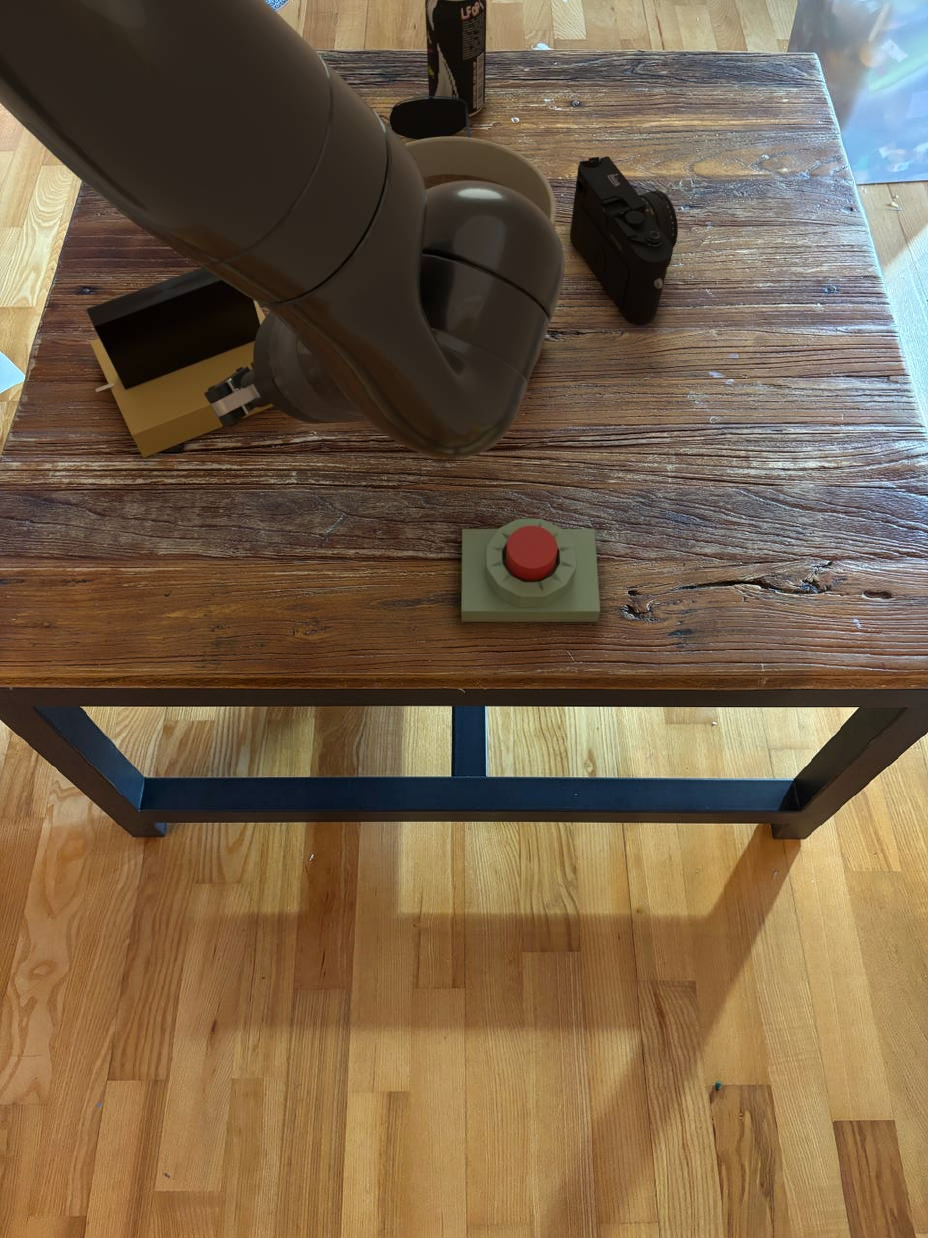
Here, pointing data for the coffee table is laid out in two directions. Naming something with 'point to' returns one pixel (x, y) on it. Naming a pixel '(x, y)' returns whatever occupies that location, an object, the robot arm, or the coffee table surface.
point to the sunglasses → (429, 117)
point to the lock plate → (174, 397)
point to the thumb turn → (173, 325)
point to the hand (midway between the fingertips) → (265, 372)
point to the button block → (518, 600)
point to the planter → (482, 169)
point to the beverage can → (457, 50)
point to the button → (531, 552)
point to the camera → (623, 237)
